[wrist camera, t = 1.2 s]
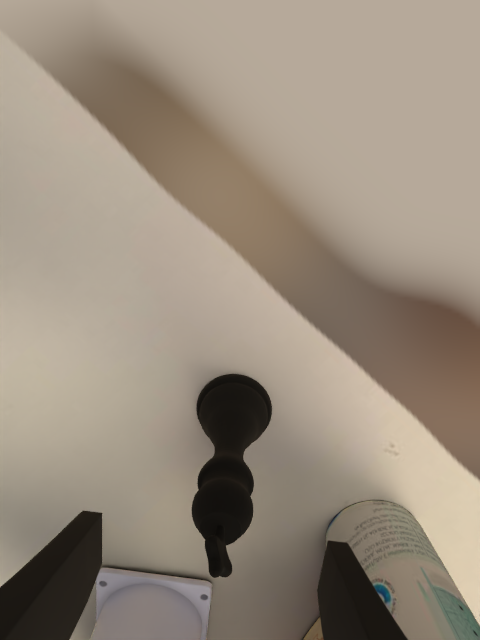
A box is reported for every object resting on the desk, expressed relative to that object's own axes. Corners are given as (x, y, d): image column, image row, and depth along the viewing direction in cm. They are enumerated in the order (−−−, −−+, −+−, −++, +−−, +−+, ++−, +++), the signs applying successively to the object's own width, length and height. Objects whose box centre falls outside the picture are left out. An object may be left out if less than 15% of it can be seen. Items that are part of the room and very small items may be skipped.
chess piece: (255, 362, 19) (257, 497, 9) (282, 427, 20) (309, 611, 10) (185, 387, 19) (117, 538, 10) (214, 449, 20) (178, 643, 11)
